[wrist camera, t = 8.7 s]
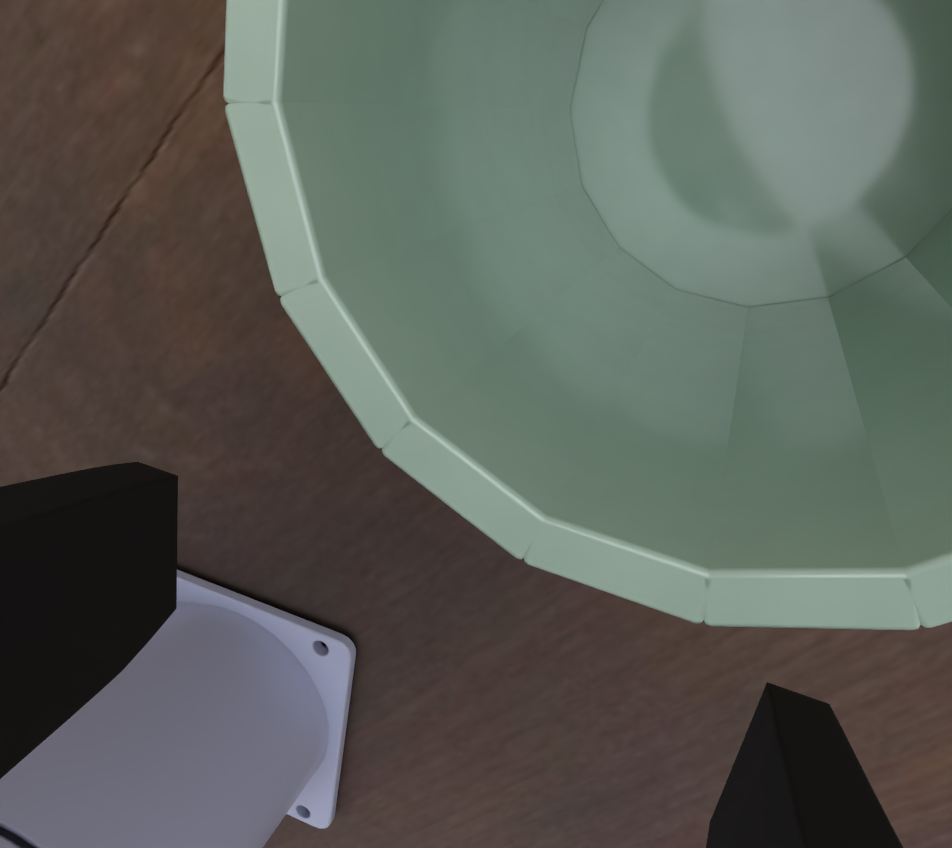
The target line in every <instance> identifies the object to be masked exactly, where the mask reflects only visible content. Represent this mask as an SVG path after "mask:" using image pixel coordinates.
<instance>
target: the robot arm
mask: <svg viewBox="0 0 952 848" xmlns="http://www.w3.org/2000/svg"><path fill="white" fill-rule="evenodd" d="M177 498H178V476H176V475H174V474H171V473H168V472H165V471H162V470H159V469H156V468H154V467H151V466H148V465H145V464H142V463H139V462H132V463H124V464H115V465H109V466H103V467H97V468H91V469H86V470H80V471H75V472H70V473H65V474H60V475H55V476H50V477H45V478H41V479H36V480H31V481H26V482H22V483H17V484H12V485H7V486H3V487H0V848H263V846H264V845H265V844H266V842H267V841H268V839H269V838H270V836H271V835H272V834H273V832H274V831H275V829H276V828H277V826H278V825H279V824H280V822H281V821H282V819H283V818H284V816H285V815H286V814H288V815H290V816H292V817H295V818H297V819H299V820H301V821H303V822H305V823H308V824H310V825H312V826H314V827H317V828H320V829H321V828H327V827H329V825H330V824H331V822H332V821H333V819H334V817H335V811H336V804H337V796H338V788H339V781H340V773H341V765H342V758H343V750H344V742H345V735H346V727H347V719H348V712H349V704H350V696H351V688H352V681H353V673H354V665H355V658H356V648H355V645H354V643H353V642H352V641H351V640H350V639H349V637H347V636H345V635H343V634H341V633H339V632H336V631H333V630H331V629H328V628H326V627H323V626H321V625H318V624H316V623H313V622H310V621H308V620H305V619H303V618H300V617H298V616H295V615H292V614H290V613H287V612H285V611H282V610H280V609H277V608H275V607H272V606H269V605H267V604H264V603H262V602H259V601H257V600H254V599H251V598H249V597H246V596H244V595H241V594H239V593H236V592H234V591H231V590H228V589H226V588H223V587H221V586H218V585H216V584H213V583H211V582H208V581H205V580H203V579H200V578H198V577H195V576H193V575H190V574H187V573H185V572H182V571H180V570H177ZM320 641H322V642H323V643H325V644H326V646H327V647H328V648H327V647H325V646H323V645H322V643H321V642H320ZM706 848H903V846H902V844H901V842H900V841H899V839H898V837H897V835H896V833H895V831H894V829H893V827H892V826H891V824H890V822H889V820H888V818H887V816H886V814H885V812H884V810H883V808H882V806H881V804H880V802H879V800H878V798H877V797H876V795H875V793H874V791H873V789H872V787H871V785H870V783H869V781H868V779H867V777H866V775H865V773H864V771H863V769H862V767H861V765H860V763H859V761H858V759H857V757H856V755H855V753H854V751H853V749H852V747H851V745H850V743H849V741H848V739H847V737H846V735H845V733H844V731H843V729H842V727H841V725H840V723H839V722H838V720H837V718H836V716H835V714H834V712H833V710H832V708H831V707H830V705H829V704H827V703H825V702H822V701H819V700H816V699H813V698H810V697H807V696H805V695H802V694H799V693H796V692H793V691H790V690H787V689H785V688H782V687H779V686H776V685H773V684H770V683H768V682H767V684H766V687H765V689H764V692H763V694H762V696H761V699H760V701H759V704H758V706H757V709H756V711H755V713H754V716H753V718H752V721H751V723H750V726H749V728H748V731H747V733H746V735H745V738H744V740H743V743H742V745H741V748H740V750H739V753H738V755H737V757H736V760H735V762H734V765H733V767H732V770H731V772H730V774H729V777H728V779H727V782H726V784H725V787H724V789H723V792H722V794H721V796H720V799H719V801H718V804H717V806H716V809H715V811H714V814H713V816H712V818H711V821H710V826H709V833H708V839H707V845H706Z"/></svg>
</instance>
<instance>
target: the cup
mask: <svg viewBox="0 0 952 848" xmlns="http://www.w3.org/2000/svg"><path fill="white" fill-rule="evenodd" d="M223 96H224V100H225V101H226V102H227V103H229V104H228V105H227V106H225V113H226V116H227V120H228V124H229V127H230V131H231V134H232V138H233V142H234V145H235V149H236V153H237V156H238V160H239V163H240V167H241V171H242V174H243V178H244V181H245V185H246V189H247V192H248V196H249V199H250V203H251V207H252V210H253V214H254V217H255V221H256V225H257V228H258V232H259V235H260V239H261V243H262V246H263V250H264V253H265V257H266V261H267V264H268V268H269V271H270V275H271V279H272V282H273V286H274V289H275V292H276V293H277V295H279V296H282V297H281V299H280V302H281V305H282V306H283V308H284V310H285V311H286V313H287V314H288V316H289V317H290V319H291V320H292V322H293V323H294V325H295V326H296V328H297V329H298V331H299V332H300V334H301V335H302V337H303V338H304V340H305V341H306V343H307V344H308V346H309V347H310V349H311V350H312V352H313V353H314V355H315V356H316V358H317V359H318V361H319V362H320V364H321V365H322V367H323V368H324V370H325V371H326V373H327V374H328V376H329V377H330V379H331V380H332V382H333V383H334V385H335V386H336V388H337V389H338V391H339V392H340V394H341V395H342V397H343V398H344V400H345V401H346V403H347V404H348V406H349V407H350V409H351V410H352V412H353V413H354V415H355V416H356V418H357V419H358V421H359V422H360V424H361V425H362V427H363V428H364V430H365V431H366V433H367V434H368V436H369V438H370V439H371V441H372V442H373V444H374V445H375V446H376V447H377V448H382V453H383V455H384V456H385V457H386V458H388V459H389V460H390V461H392V462H393V463H394V464H395V465H397V466H398V467H399V468H401V469H402V470H403V471H405V472H406V473H407V474H408V475H410V476H411V477H412V478H414V479H415V480H416V481H417V482H419V483H420V484H421V485H423V486H424V487H425V488H426V489H428V490H429V491H430V492H432V493H433V494H434V495H435V496H437V497H438V498H439V499H441V500H442V501H443V502H444V503H446V504H447V505H448V506H450V507H451V508H452V509H453V510H455V511H456V512H457V513H459V514H460V515H461V516H462V517H464V518H465V519H466V520H468V521H469V522H470V523H471V524H473V525H474V526H475V527H477V528H478V529H479V530H480V531H482V532H483V533H484V534H486V535H487V536H488V537H489V538H491V539H492V540H493V541H495V542H496V543H497V544H498V545H500V546H501V547H502V548H504V549H505V550H506V551H507V552H509V553H510V554H511V555H513V556H514V557H515V558H517V559H522V558H524V561H525V563H527V564H528V565H530V566H533V567H536V568H539V569H542V570H545V571H548V572H550V573H553V574H556V575H559V576H562V577H565V578H568V579H570V580H573V581H576V582H579V583H582V584H585V585H588V586H590V587H593V588H596V589H599V590H602V591H605V592H608V593H610V594H613V595H616V596H619V597H622V598H625V599H628V600H630V601H633V602H636V603H639V604H642V605H645V606H648V607H650V608H653V609H656V610H659V611H662V612H665V613H668V614H670V615H673V616H676V617H679V618H682V619H685V620H688V621H690V622H693V623H701V622H702V621H703V620H704V622H705V623H706V625H709V626H731V627H781V628H831V629H881V630H915V629H919V627H920V624H921V625H922V626H924V627H925V628H932V627H935V626H939V625H942V624H945V623H949V622H952V0H226V27H225V57H224V87H223Z"/></svg>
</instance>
